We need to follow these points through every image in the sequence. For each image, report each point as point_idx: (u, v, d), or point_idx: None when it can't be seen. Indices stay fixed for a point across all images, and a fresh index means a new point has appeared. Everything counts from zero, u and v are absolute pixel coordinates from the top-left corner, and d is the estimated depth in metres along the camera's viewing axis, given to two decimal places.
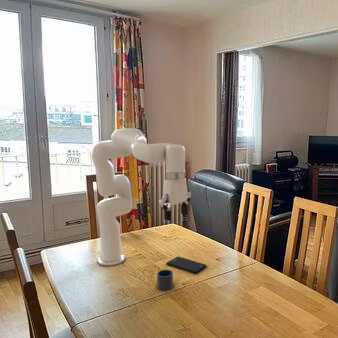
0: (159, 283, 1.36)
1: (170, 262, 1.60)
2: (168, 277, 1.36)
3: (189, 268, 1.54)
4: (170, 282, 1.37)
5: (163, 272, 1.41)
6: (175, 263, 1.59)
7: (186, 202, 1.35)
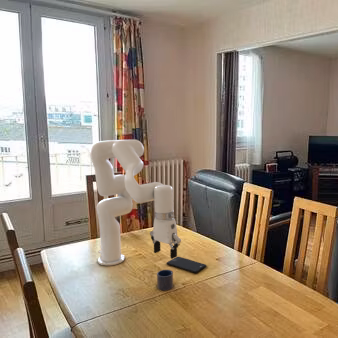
0: (159, 283, 1.36)
1: (170, 262, 1.60)
2: (168, 277, 1.36)
3: (189, 268, 1.54)
4: (170, 282, 1.37)
5: (163, 272, 1.41)
6: (175, 263, 1.59)
7: (170, 246, 1.32)
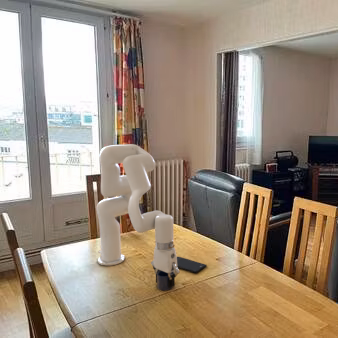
0: (159, 283, 1.36)
1: None
2: (168, 277, 1.36)
3: (189, 268, 1.54)
4: None
5: (163, 272, 1.41)
6: None
7: (169, 275, 1.35)
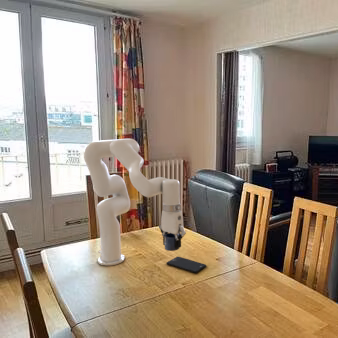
0: (166, 244, 1.44)
1: (170, 262, 1.60)
2: (175, 238, 1.44)
3: (189, 268, 1.54)
4: None
5: (170, 235, 1.49)
6: (175, 263, 1.59)
7: (175, 237, 1.43)
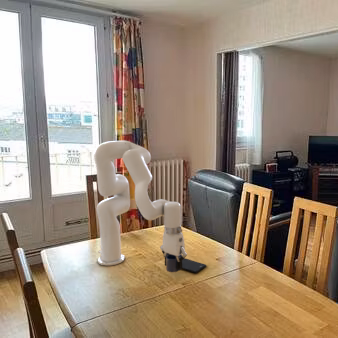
0: (168, 265, 1.47)
1: None
2: (176, 260, 1.46)
3: (189, 268, 1.54)
4: None
5: (171, 256, 1.52)
6: None
7: (177, 258, 1.46)
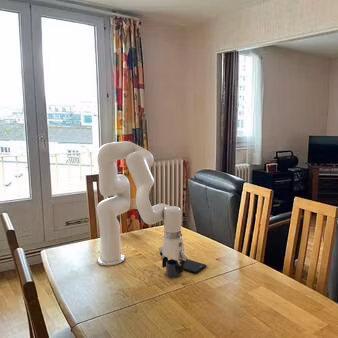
0: (168, 271, 1.47)
1: None
2: (176, 265, 1.47)
3: (189, 268, 1.54)
4: None
5: (171, 261, 1.52)
6: None
7: (178, 262, 1.45)
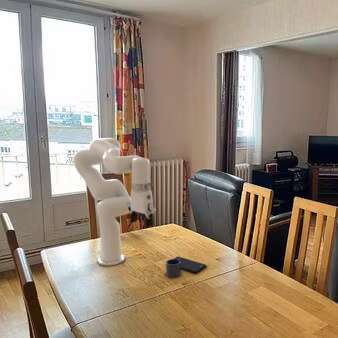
0: (168, 271, 1.47)
1: None
2: (176, 265, 1.47)
3: (189, 268, 1.54)
4: (178, 270, 1.48)
5: (171, 261, 1.52)
6: None
7: (146, 215, 1.39)
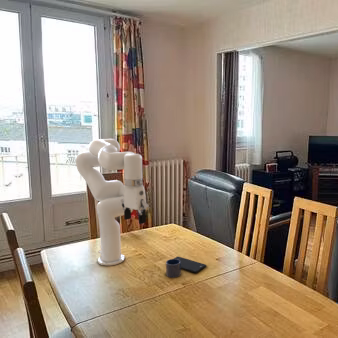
0: (168, 271, 1.47)
1: None
2: (176, 265, 1.47)
3: (189, 268, 1.54)
4: (178, 270, 1.48)
5: (171, 261, 1.52)
6: None
7: (139, 211, 1.38)
